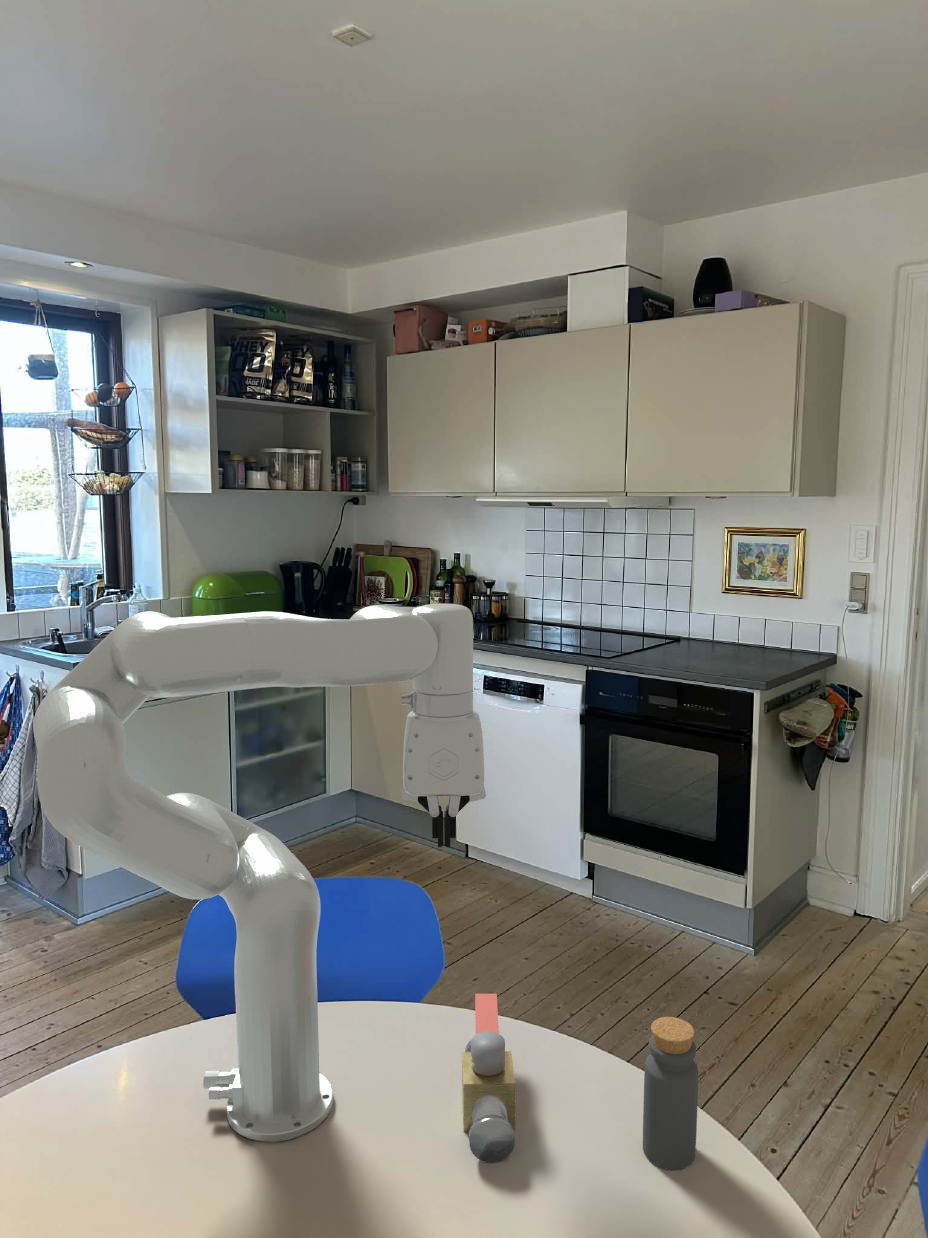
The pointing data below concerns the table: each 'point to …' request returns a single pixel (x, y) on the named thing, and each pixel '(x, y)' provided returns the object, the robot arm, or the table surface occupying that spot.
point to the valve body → (489, 1109)
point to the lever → (487, 1037)
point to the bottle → (670, 1095)
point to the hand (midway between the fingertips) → (443, 843)
